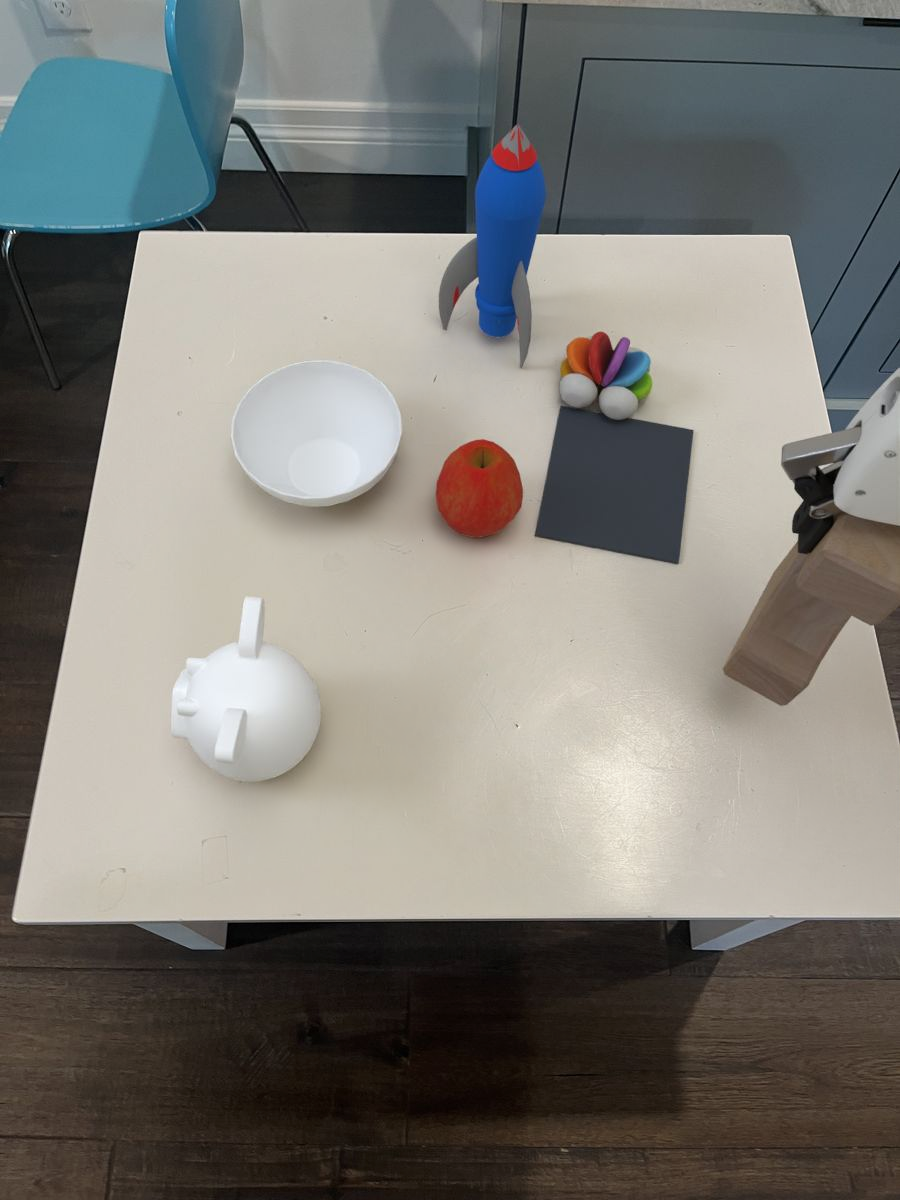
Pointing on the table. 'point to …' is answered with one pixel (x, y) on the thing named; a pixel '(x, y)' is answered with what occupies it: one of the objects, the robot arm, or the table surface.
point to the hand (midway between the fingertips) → (863, 545)
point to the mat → (616, 485)
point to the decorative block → (816, 605)
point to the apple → (479, 489)
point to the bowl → (317, 432)
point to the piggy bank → (247, 704)
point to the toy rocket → (501, 242)
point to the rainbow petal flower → (605, 375)
